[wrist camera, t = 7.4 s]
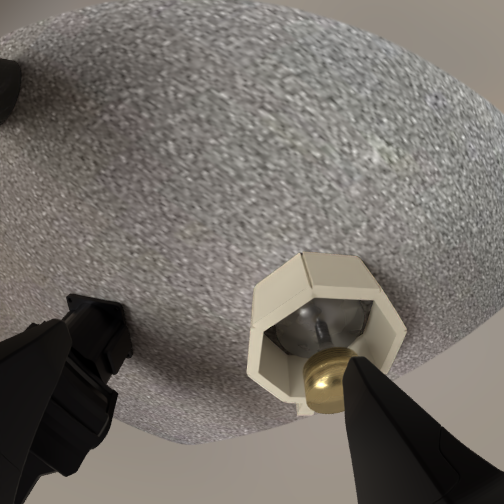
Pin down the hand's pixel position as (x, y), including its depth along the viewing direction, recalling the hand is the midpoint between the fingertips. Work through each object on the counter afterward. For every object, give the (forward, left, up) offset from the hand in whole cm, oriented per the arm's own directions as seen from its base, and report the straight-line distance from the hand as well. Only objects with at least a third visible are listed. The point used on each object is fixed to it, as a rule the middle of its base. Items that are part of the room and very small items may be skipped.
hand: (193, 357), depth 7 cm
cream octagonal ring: (+7, -8, -13) cm, 17 cm away
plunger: (+7, -7, -12) cm, 16 cm away
